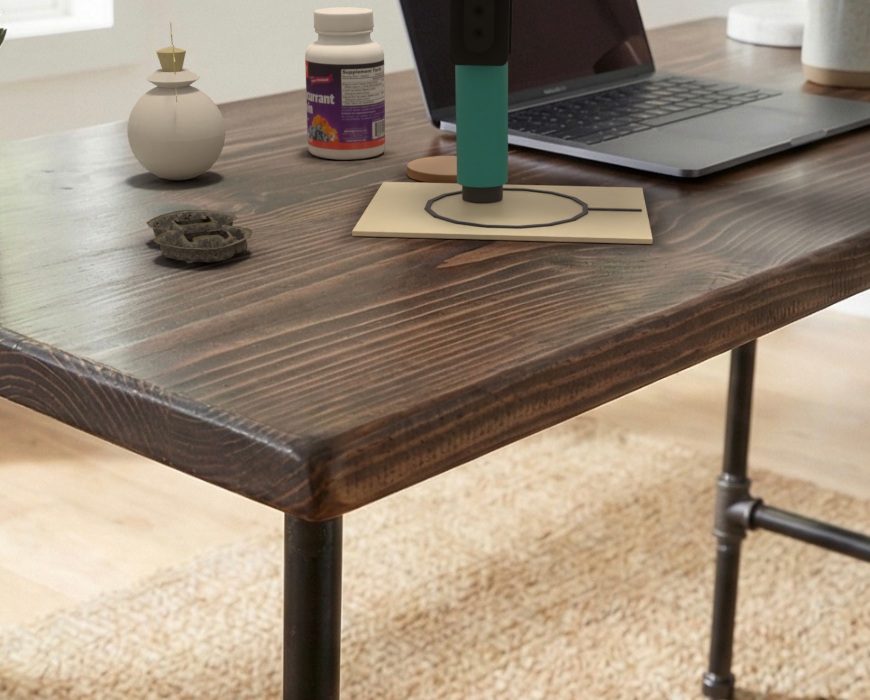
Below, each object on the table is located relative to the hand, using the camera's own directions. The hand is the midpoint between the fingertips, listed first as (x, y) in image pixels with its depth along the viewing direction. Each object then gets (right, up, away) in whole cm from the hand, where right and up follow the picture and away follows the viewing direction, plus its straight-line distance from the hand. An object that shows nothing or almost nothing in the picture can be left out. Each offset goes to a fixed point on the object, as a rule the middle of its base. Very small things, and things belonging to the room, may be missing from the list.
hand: (481, 56), depth 74 cm
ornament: (-19, -6, +9) cm, 22 cm away
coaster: (-1, -5, +11) cm, 12 cm away
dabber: (0, -8, +3) cm, 8 cm away
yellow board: (+1, -9, +1) cm, 9 cm away
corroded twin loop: (-15, -11, -6) cm, 20 cm away
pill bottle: (-9, -3, +17) cm, 19 cm away
